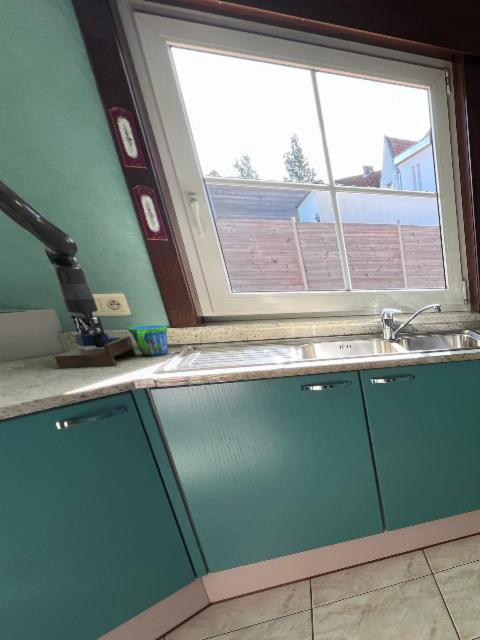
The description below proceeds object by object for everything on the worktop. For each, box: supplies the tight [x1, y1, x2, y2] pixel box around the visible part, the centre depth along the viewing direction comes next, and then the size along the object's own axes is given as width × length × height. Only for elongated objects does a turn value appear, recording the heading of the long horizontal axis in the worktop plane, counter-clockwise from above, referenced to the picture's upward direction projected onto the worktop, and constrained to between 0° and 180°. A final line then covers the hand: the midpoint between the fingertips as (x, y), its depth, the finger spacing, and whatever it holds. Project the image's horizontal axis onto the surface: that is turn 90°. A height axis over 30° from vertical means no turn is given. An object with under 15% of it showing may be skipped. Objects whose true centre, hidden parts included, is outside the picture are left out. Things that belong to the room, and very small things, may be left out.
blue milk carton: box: [74, 333, 121, 350], centre depth 173 cm, size 11×5×5 cm, turn 155°
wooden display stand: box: [54, 335, 137, 369], centre depth 170 cm, size 14×20×7 cm
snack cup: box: [128, 324, 169, 357], centre depth 183 cm, size 16×10×10 cm
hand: (95, 346), depth 172 cm, fingers open, 7 cm apart
